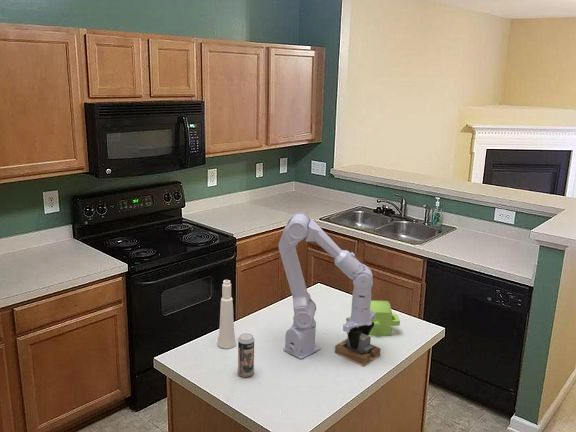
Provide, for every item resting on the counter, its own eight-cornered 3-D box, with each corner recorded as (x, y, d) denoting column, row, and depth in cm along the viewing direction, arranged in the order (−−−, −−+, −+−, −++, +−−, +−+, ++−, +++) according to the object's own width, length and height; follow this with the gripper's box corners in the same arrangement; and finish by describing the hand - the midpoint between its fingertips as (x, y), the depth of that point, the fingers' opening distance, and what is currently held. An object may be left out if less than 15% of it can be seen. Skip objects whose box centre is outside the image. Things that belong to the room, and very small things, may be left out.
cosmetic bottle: (237, 340, 177) (237, 277, 171) (234, 349, 171) (234, 285, 165) (219, 339, 177) (219, 276, 172) (215, 348, 172) (215, 284, 166)
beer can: (240, 379, 155) (241, 341, 152) (235, 371, 159) (235, 334, 156) (256, 376, 157) (257, 339, 154) (250, 367, 161) (251, 331, 158)
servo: (365, 358, 166) (366, 342, 165) (343, 348, 172) (344, 332, 170) (372, 354, 169) (374, 337, 168) (351, 344, 175) (352, 328, 173)
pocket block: (363, 366, 164) (363, 358, 163) (334, 352, 171) (335, 345, 171) (380, 355, 170) (380, 348, 170) (352, 343, 178) (352, 336, 177)
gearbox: (346, 338, 182) (348, 313, 179) (344, 323, 191) (345, 299, 188) (400, 339, 182) (402, 314, 179) (394, 324, 191) (396, 300, 188)
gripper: (357, 317, 159) (354, 358, 162) (385, 303, 169) (381, 342, 173) (338, 309, 163) (336, 349, 167) (366, 296, 174) (363, 334, 177)
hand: (358, 345), depth 170 cm, fingers closed on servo, 4 cm apart
